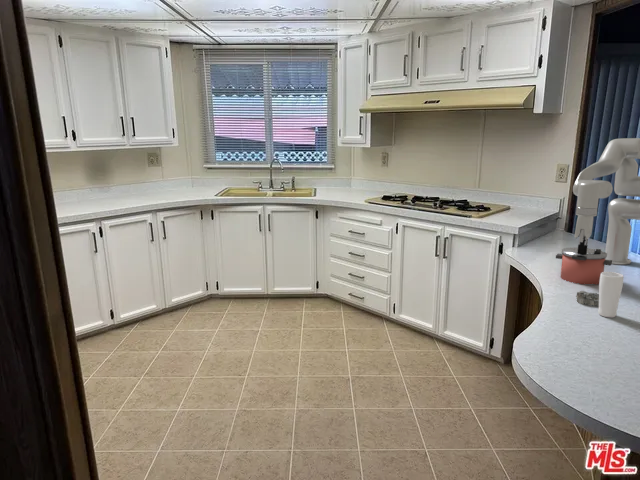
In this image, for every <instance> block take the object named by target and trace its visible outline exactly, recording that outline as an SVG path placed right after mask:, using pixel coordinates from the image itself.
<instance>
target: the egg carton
mask: <svg viewBox="0 0 640 480" xmlns="http://www.w3.org/2000/svg"><path fill="white" fill-rule="evenodd" d="M575 297H576V299H577V300H576V301H577V302H578V303H577V304H580V305H589V306H591V305H593V306H592V307H594V306H597V307H599V293H598V292H588V291H584V290H579V291H577V292H576V296H575ZM584 303H585V304H584Z"/></svg>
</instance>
